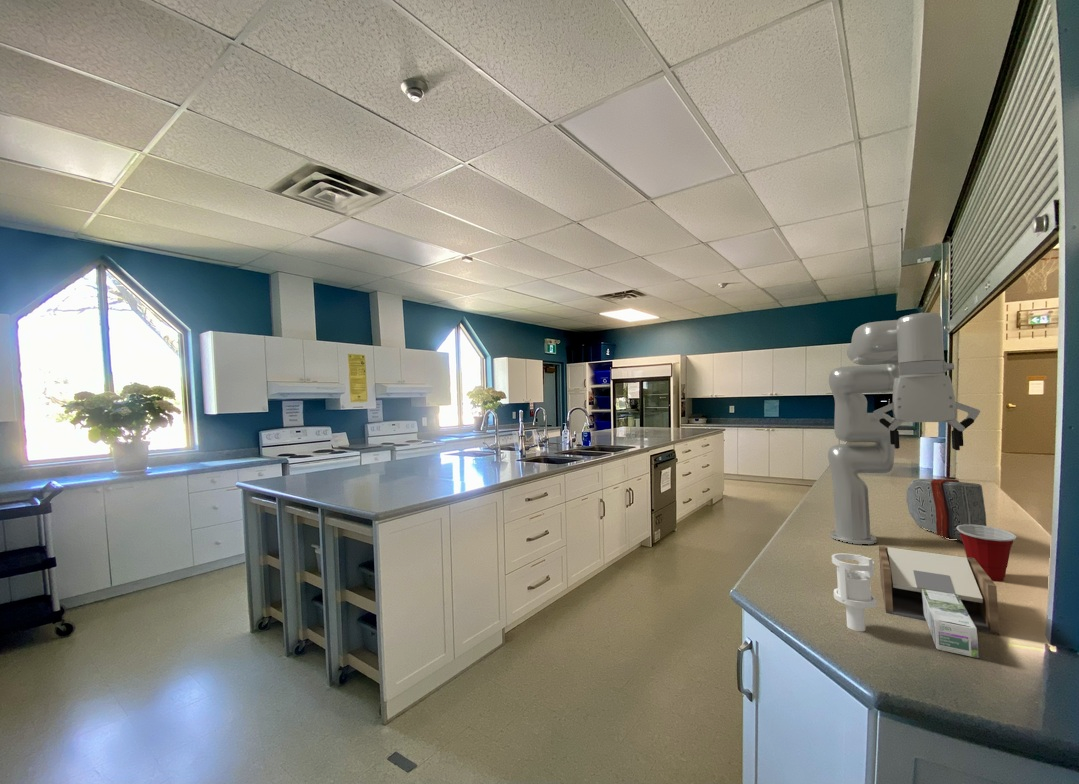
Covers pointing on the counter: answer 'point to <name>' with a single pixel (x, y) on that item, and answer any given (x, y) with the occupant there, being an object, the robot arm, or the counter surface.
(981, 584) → the trapdoor frame
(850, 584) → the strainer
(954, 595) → the syrup box
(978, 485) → the decorative stone tablet
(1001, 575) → the plastic cup
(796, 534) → the counter surface
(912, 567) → the trapdoor
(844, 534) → the robot arm
